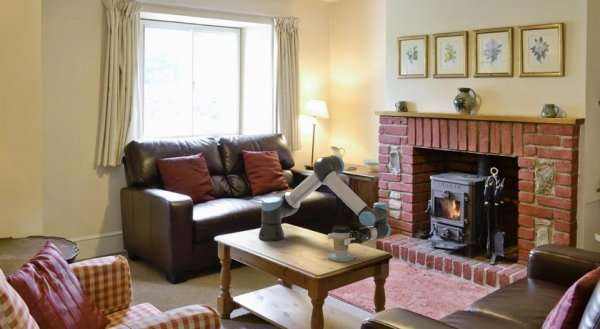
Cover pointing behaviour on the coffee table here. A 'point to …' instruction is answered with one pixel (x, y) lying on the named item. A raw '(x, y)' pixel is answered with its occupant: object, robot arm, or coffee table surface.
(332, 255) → the saucer
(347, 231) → the coffee cup
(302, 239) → the coffee table surface
